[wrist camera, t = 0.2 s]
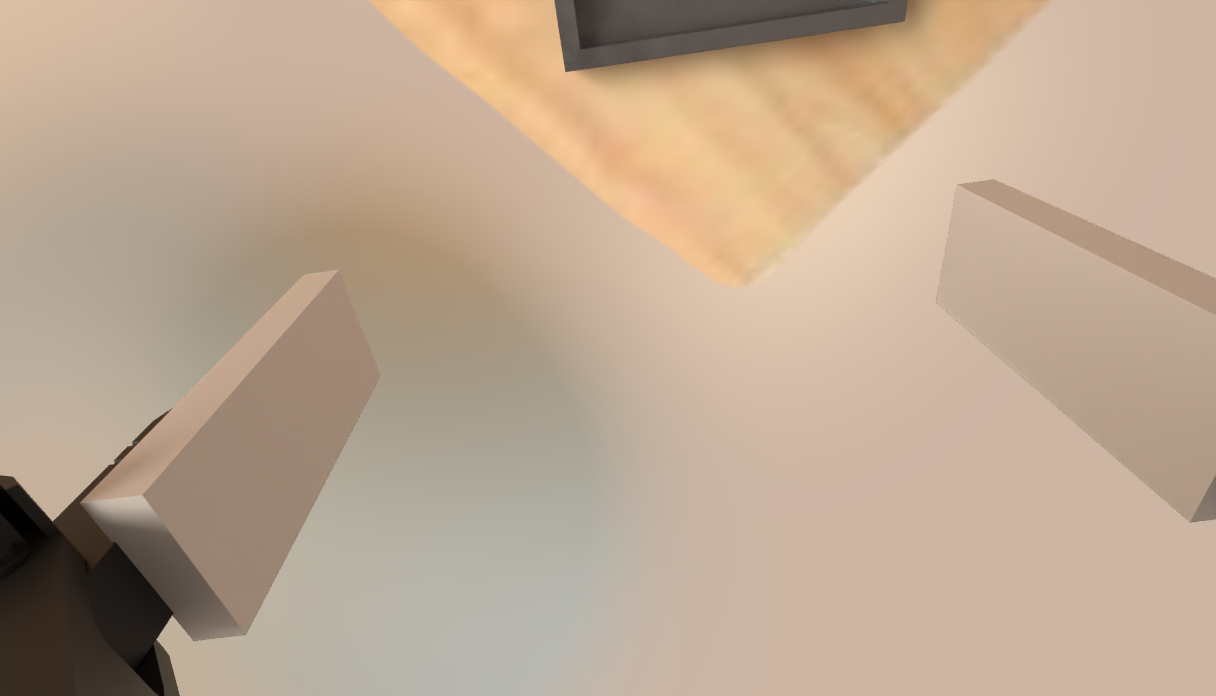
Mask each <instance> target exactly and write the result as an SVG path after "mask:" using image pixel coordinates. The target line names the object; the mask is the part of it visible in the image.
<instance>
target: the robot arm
mask: <svg viewBox="0 0 1216 696" xmlns="http://www.w3.org/2000/svg"><path fill="white" fill-rule="evenodd" d="M936 303H937V304H938V305H939V306H940V307H941V308H943V309H944V310H945V311H946V312H947V313H948V314H950V315H951V316H952V317H953V318H954V319H955V320H956V321H958V322H959V323H960V324H961V325H962V326H963V327H965V328H966V329H967V330H968V331H969V332H970V333H972V334H973V335H974V336H975V337H976V338H977V339H978V340H980V341H981V342H982V343H983V344H984V345H985V346H987V347H988V348H989V349H990V350H991V351H992V352H993V353H995V354H996V355H997V356H998V357H999V358H1000V359H1002V360H1003V361H1004V362H1005V363H1006V364H1007V365H1008V366H1010V367H1011V368H1012V369H1013V370H1014V371H1016V372H1017V373H1018V374H1019V375H1020V376H1021V377H1022V378H1024V379H1025V380H1026V381H1027V382H1028V383H1029V384H1030V385H1032V386H1033V387H1034V388H1035V389H1036V390H1037V391H1039V392H1040V393H1041V394H1042V395H1043V396H1044V397H1046V398H1047V399H1048V400H1049V401H1050V402H1051V403H1052V404H1054V405H1055V406H1056V407H1057V408H1058V409H1059V410H1061V411H1062V412H1063V413H1064V414H1065V415H1066V416H1067V417H1069V418H1070V419H1071V420H1072V421H1073V422H1074V423H1076V424H1077V425H1078V426H1079V427H1080V428H1081V429H1082V430H1084V431H1085V432H1086V433H1087V434H1088V435H1089V436H1091V437H1092V438H1093V439H1094V440H1095V441H1096V442H1097V443H1099V444H1100V445H1101V446H1102V447H1104V449H1106V450H1107V451H1108V452H1109V453H1110V454H1111V455H1112V456H1114V457H1115V458H1116V459H1117V460H1118V461H1119V462H1121V463H1122V464H1123V465H1124V466H1125V467H1126V468H1128V469H1129V470H1130V471H1131V472H1132V473H1133V474H1134V475H1136V476H1137V477H1138V478H1139V479H1140V480H1142V481H1143V482H1144V483H1145V484H1146V485H1147V486H1148V487H1149V488H1151V489H1152V490H1153V491H1154V492H1155V493H1157V494H1158V495H1159V496H1160V497H1161V498H1162V499H1163V500H1165V501H1166V502H1167V503H1168V504H1169V505H1170V506H1171V507H1173V508H1174V509H1175V510H1176V511H1177V512H1178V513H1180V514H1181V515H1182V516H1183V517H1184V518H1185V519H1187V520H1188V521H1189V522H1197V521H1205V520H1214V519H1216V279H1215V278H1213V277H1211V276H1209V275H1207V274H1204V273H1202V272H1200V271H1197V270H1195V269H1193V268H1191V267H1189V266H1186V265H1184V264H1182V263H1180V262H1177V261H1175V260H1173V259H1171V258H1168V257H1166V256H1164V255H1162V254H1159V253H1157V252H1155V251H1153V250H1150V249H1148V248H1146V247H1144V246H1142V245H1139V244H1137V243H1135V242H1133V241H1130V240H1128V239H1126V238H1124V237H1121V236H1119V235H1117V234H1115V233H1112V232H1110V231H1108V230H1106V229H1103V228H1101V227H1099V226H1097V225H1095V224H1092V223H1090V222H1088V221H1086V220H1083V219H1081V218H1079V217H1077V216H1075V215H1072V214H1070V213H1067V212H1066V211H1063V210H1061V209H1059V208H1057V207H1054V206H1052V205H1050V204H1048V203H1045V202H1043V201H1041V200H1039V199H1036V198H1034V197H1032V196H1030V195H1028V194H1025V193H1023V192H1021V191H1018V190H1016V189H1014V188H1012V187H1010V186H1007V185H1005V184H1003V183H1001V182H998V181H996V180H987V181H980V182H973V183H965V184H959V185H957V187H956V192H955V197H954V203H953V209H952V214H951V220H950V226H949V231H948V237H947V242H946V248H945V253H944V259H943V264H942V270H941V276H940V282H939V287H938V293H937V298H936ZM380 376H381V375H380V372H379V370H378V367H377V365H376V363H375V360H374V357H373V355H372V352H371V350H370V347H369V345H368V342H367V339H366V337H365V334H364V332H363V330H362V327H361V324H360V322H359V319H358V317H357V314H356V312H355V310H354V307H353V304H352V302H351V299H350V296H349V294H348V291H347V289H346V286H345V284H344V281H343V279H342V276H341V275H340V271H339V270H334V271H327V272H320V273H312V274H305V275H303V276H302V277H301V278H300V279H299V280H298V281H297V282H296V283H295V284H294V285H293V286H292V287H291V289H289V290H288V292H287V293H286V294H285V295H284V296H283V297H282V298H281V299H280V300H279V301H278V302H277V303H276V304H275V305H274V306H273V307H272V308H271V309H270V310H269V311H268V312H267V313H266V314H265V315H264V316H263V317H262V318H261V319H260V320H259V321H258V322H257V323H256V324H255V325H254V326H253V327H252V328H251V329H250V330H249V331H248V332H247V333H246V334H245V335H244V336H243V337H242V338H241V340H239V341H238V342H237V344H236V345H234V347H233V348H232V349H231V350H230V351H229V352H228V353H227V354H226V355H225V356H224V357H223V358H222V359H221V360H220V361H219V362H218V363H217V364H216V365H215V366H214V367H213V368H212V369H211V370H210V371H209V372H208V373H207V374H206V375H205V376H204V377H203V378H202V379H201V380H200V381H199V382H198V383H197V384H196V385H195V386H194V387H193V388H192V389H191V390H190V391H189V392H188V393H187V394H186V395H185V396H184V398H183V399H181V400H180V401H179V403H178V404H177V405H176V406H175V407H173V408H172V409H170V410H169V411H167V412H166V413H165V414H163V415H161V416H160V417H158V418H157V419H155V420H154V421H153V422H152V423H151V424H150V425H149V426H148V427H147V428H146V429H145V430H144V431H143V432H142V433H141V434H140V435H139V436H138V437H137V438H136V439H135V440H134V441H133V442H132V443H133V446H129V447H127V448H126V449H125V450H124V451H123V452H122V453H121V454H120V455H119V456H118V457H117V458H116V459H115V460H114V461H115V464H113V465H109V466H108V467H107V468H106V469H105V470H104V471H103V472H102V473H101V474H100V475H99V476H98V477H97V478H96V479H95V480H94V481H93V482H92V483H91V484H90V485H89V486H88V487H87V488H86V489H85V490H84V491H83V492H82V493H81V494H80V495H79V496H78V497H77V498H76V499H75V500H74V501H73V502H72V503H71V504H70V505H69V506H68V507H67V508H66V509H65V510H64V511H63V512H62V513H61V514H60V515H59V516H58V517H57V518H56V519H55V520H54V521H53V522H52V521H51V519H50V518H49V517H48V516H47V515H46V514H45V513H44V511H42V509H41V508H40V507H39V506H38V505H37V503H36V502H35V501H34V500H33V499H32V498H31V497H30V495H29V494H28V493H27V492H26V491H25V490H24V489H23V488H22V486H21V485H20V484H19V483H18V482H17V481H16V480H15V478H14V477H10V476H0V696H180V695H179V691H178V687H177V683H176V680H175V676H174V672H173V668H172V664H171V661H170V657H169V655H168V653H167V652H166V651H165V649H164V648H163V647H162V646H161V644H160V643H159V642H158V641H157V640H156V639H157V638H158V636H159V634H160V633H161V631H162V630H163V629H164V627H165V625H166V624H167V622H168V621H169V619H170V618H171V616H172V615H173V617H174V618H175V619H176V620H177V621H178V623H179V624H180V625H181V626H182V628H183V629H184V630H185V631H186V632H187V634H188V635H189V636H190V637H191V638H192V640H193V641H198V640H207V639H215V638H224V637H232V636H240V635H246V634H247V632H248V630H249V628H250V626H251V624H252V622H253V620H254V618H255V617H256V615H257V613H258V611H259V609H260V607H261V605H262V603H263V601H264V599H265V597H266V595H267V594H268V592H269V590H270V588H271V586H272V584H273V582H274V580H275V578H276V576H277V574H278V572H279V570H280V569H281V567H282V565H283V562H284V561H285V559H286V557H287V555H288V553H289V551H290V549H291V547H292V545H293V544H294V542H295V540H296V538H297V536H298V534H299V532H300V530H301V528H302V526H303V524H304V522H305V520H306V518H307V517H308V515H309V513H310V511H311V509H312V507H313V505H314V503H315V501H316V499H317V497H318V495H319V493H320V492H321V490H322V488H323V486H324V484H325V482H326V480H327V478H328V476H329V474H330V472H331V471H332V469H333V467H334V465H335V463H336V461H337V459H338V457H339V455H340V453H341V451H342V449H343V447H344V446H345V444H346V442H347V440H348V438H349V436H350V434H351V432H352V430H353V428H354V426H355V424H356V423H357V421H358V419H359V417H360V415H361V413H362V411H363V409H364V407H365V405H366V403H367V401H368V399H369V398H370V396H371V394H372V392H373V390H374V388H375V386H376V384H377V382H378V380H379V378H380Z"/></svg>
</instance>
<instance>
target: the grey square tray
mask: <svg viewBox="0 0 1216 696" xmlns="http://www.w3.org/2000/svg"><path fill="white" fill-rule="evenodd" d="M555 7H556V13H557V20H558V26H559V33H560V39H561V46H562V52H563V59H564V65H565V72H569V71H576V70H582V69H589V68H596V67H602V66H609V65H616V64H622V63H629V62H636V61H642V60H649V59H656V58H662V57H669V56H676V55H683V54H689V53H696V52H703V51H709V50H716V49H723V48H729V47H736V46H743V45H749V44H756V43H763V42H769V41H776V40H783V39H790V38H796V37H803V36H810V35H816V34H823V33H830V32H836V31H843V30H850V29H856V28H863V27H870V26H876V25H883V24H890V23H897V22H903V21H905V15H906V7H907V0H555Z"/></svg>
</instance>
